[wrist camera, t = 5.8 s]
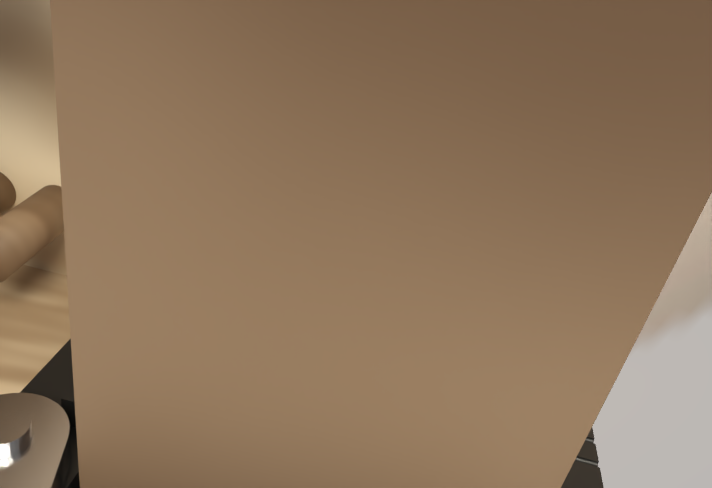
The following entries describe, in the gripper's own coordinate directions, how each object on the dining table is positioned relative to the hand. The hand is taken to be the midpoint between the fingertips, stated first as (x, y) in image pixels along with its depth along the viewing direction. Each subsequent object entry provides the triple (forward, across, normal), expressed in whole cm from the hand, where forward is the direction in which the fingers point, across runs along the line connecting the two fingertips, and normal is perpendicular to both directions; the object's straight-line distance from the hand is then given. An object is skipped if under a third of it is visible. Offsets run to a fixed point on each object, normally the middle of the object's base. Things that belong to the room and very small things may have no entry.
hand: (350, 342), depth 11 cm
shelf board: (+1, 0, 0) cm, 1 cm away
